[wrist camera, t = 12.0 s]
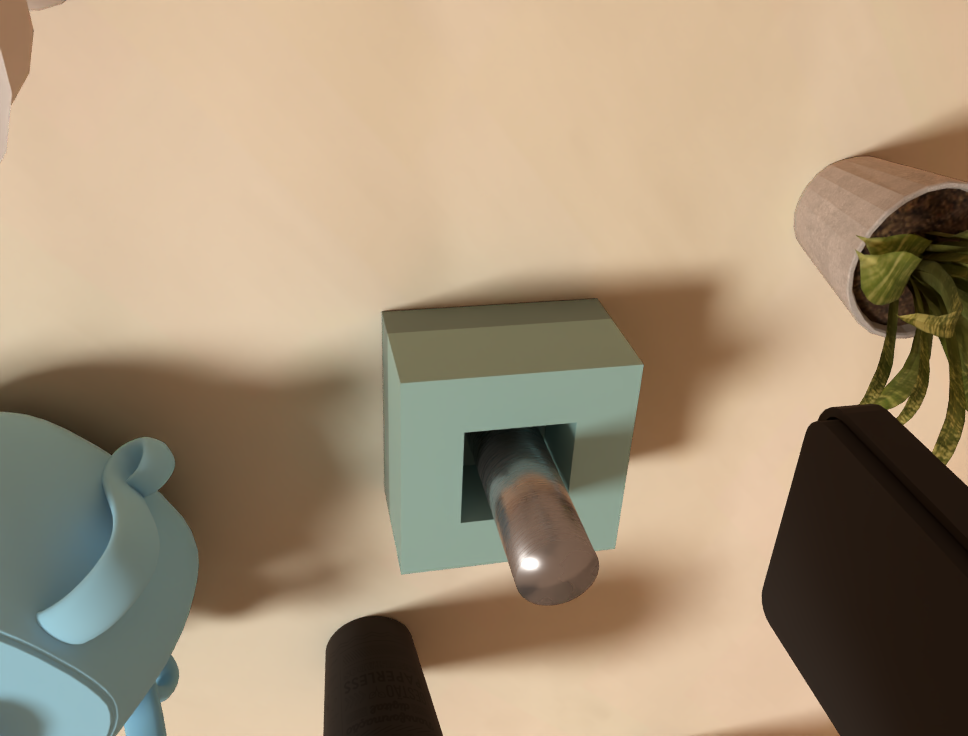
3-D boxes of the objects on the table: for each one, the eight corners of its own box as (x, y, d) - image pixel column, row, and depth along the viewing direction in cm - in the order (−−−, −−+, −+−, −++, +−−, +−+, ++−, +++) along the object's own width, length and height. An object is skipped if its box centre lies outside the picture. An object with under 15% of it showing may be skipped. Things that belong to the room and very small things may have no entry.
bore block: (381, 311, 40) (400, 383, 35) (597, 298, 42) (643, 364, 37) (384, 489, 45) (401, 574, 40) (576, 470, 47) (614, 548, 42)
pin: (465, 396, 41) (518, 546, 33) (533, 390, 42) (603, 536, 33) (463, 453, 43) (513, 610, 34) (529, 447, 43) (594, 599, 35)
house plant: (632, 326, 44) (806, 562, 30) (744, 29, 37) (1029, 158, 24) (874, 360, 48) (1122, 579, 34) (1011, 100, 42) (1381, 243, 28)
